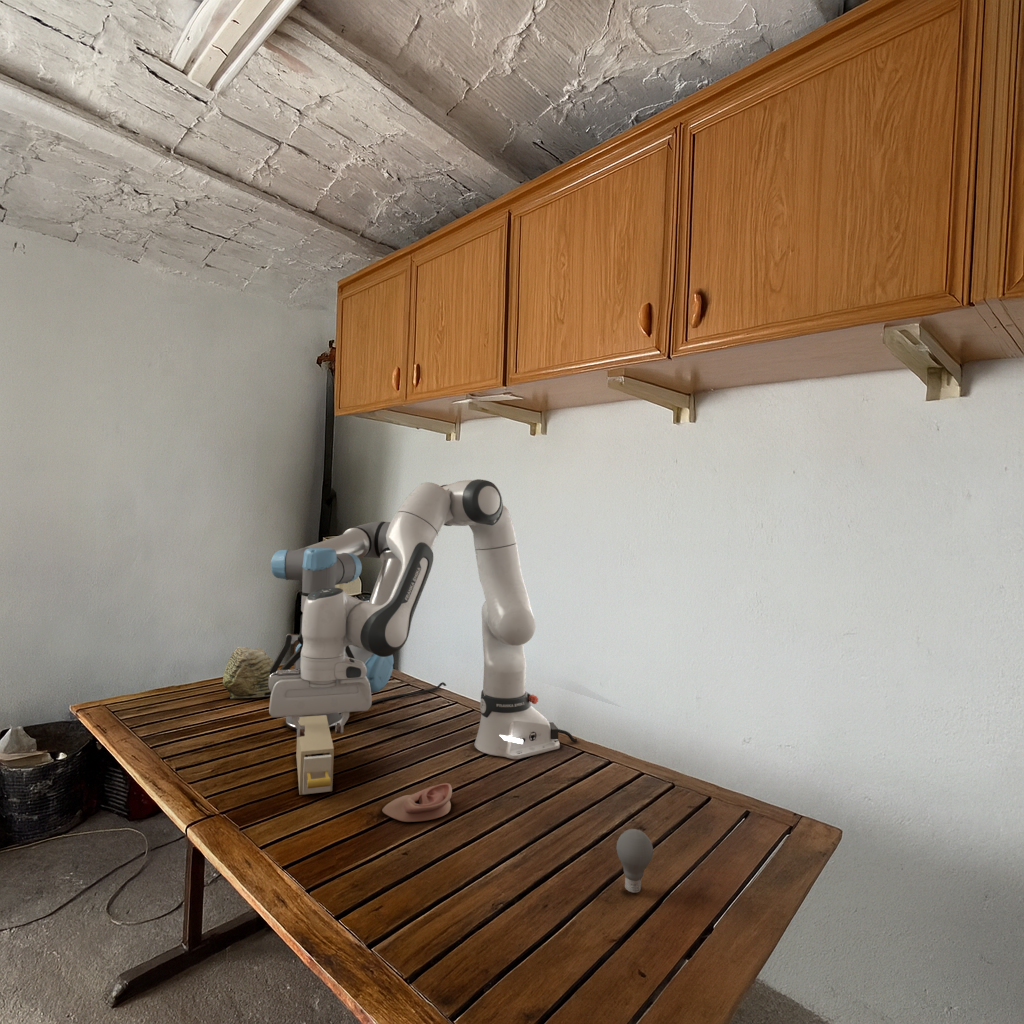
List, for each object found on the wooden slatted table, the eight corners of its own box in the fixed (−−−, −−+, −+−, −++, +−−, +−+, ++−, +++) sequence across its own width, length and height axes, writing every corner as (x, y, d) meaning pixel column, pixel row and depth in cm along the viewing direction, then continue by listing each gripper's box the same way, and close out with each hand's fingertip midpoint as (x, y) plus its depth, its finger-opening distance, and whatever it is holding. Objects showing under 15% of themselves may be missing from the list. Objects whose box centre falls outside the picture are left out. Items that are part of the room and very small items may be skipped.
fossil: (218, 695, 195) (220, 647, 195) (278, 685, 208) (279, 640, 207) (228, 703, 189) (230, 653, 188) (289, 692, 201) (290, 645, 201)
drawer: (332, 803, 129) (333, 767, 129) (304, 807, 127) (305, 770, 127) (323, 753, 153) (324, 723, 153) (299, 756, 152) (300, 725, 151)
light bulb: (610, 879, 108) (613, 822, 108) (644, 879, 109) (647, 822, 109) (619, 902, 102) (622, 840, 102) (655, 901, 103) (658, 840, 103)
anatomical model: (376, 797, 126) (398, 774, 137) (375, 817, 126) (397, 792, 137) (440, 807, 123) (457, 782, 134) (439, 827, 123) (456, 800, 134)
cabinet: (332, 791, 137) (333, 748, 136) (299, 795, 134) (301, 751, 134) (324, 752, 157) (326, 714, 156) (296, 755, 154) (297, 717, 154)
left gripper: (260, 617, 142) (256, 710, 143) (373, 615, 151) (369, 703, 151) (261, 611, 149) (257, 700, 150) (368, 609, 158) (365, 694, 158)
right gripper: (268, 674, 124) (265, 744, 124) (374, 669, 131) (371, 735, 131) (268, 666, 130) (266, 733, 130) (370, 661, 137) (367, 724, 137)
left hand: (313, 702), depth 151 cm, fingers open, 13 cm apart
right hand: (320, 734), depth 131 cm, fingers open, 6 cm apart
